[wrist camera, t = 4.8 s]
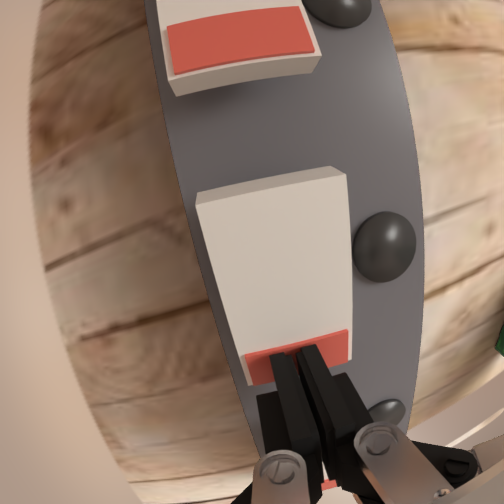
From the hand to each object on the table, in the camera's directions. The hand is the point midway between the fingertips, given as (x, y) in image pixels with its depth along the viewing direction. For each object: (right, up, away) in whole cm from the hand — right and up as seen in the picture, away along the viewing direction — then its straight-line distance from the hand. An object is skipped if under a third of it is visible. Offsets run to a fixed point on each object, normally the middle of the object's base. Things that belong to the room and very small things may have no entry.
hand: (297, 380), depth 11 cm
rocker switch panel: (+1, +5, +5) cm, 7 cm away
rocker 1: (-3, +13, -2) cm, 13 cm away
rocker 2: (-1, +4, 0) cm, 4 cm away
